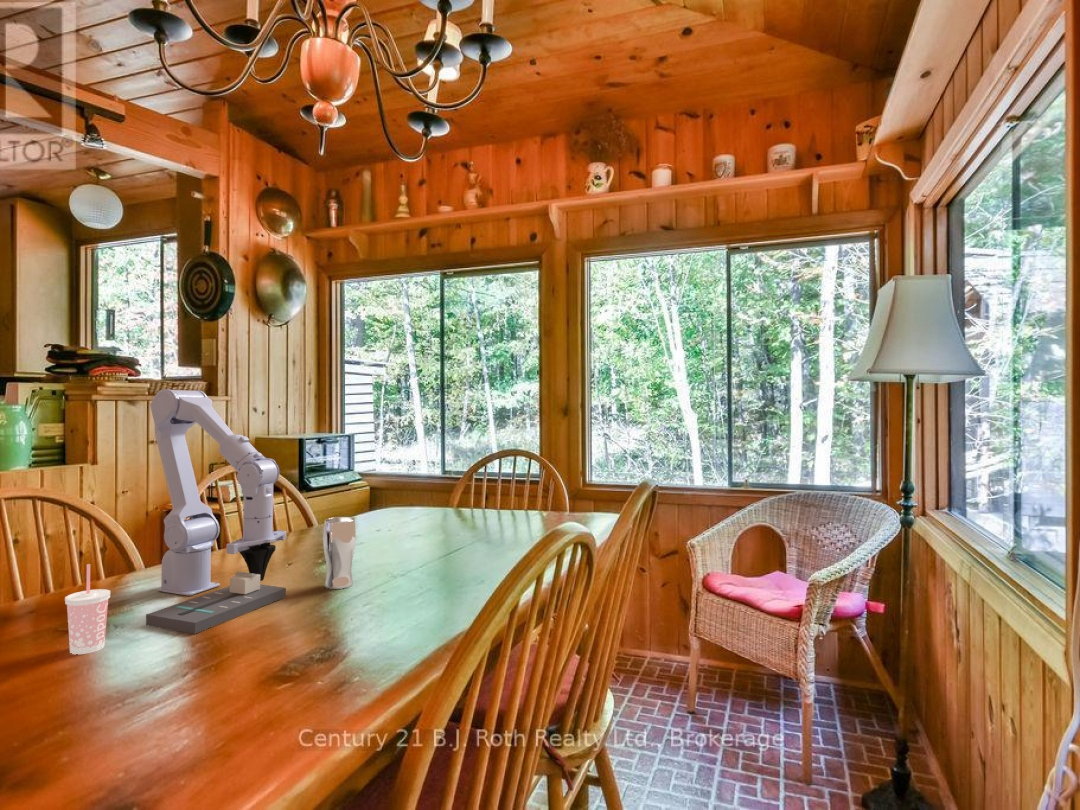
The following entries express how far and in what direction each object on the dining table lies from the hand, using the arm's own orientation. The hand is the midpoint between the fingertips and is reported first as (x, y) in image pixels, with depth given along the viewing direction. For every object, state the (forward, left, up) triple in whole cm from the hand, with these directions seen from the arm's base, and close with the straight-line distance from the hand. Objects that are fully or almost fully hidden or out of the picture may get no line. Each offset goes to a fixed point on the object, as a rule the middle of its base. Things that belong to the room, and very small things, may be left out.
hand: (257, 580), depth 127 cm
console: (0, -9, -3) cm, 10 cm away
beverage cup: (-5, -31, -4) cm, 32 cm away
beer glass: (+11, +13, -4) cm, 17 cm away
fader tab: (0, -3, -1) cm, 4 cm away
